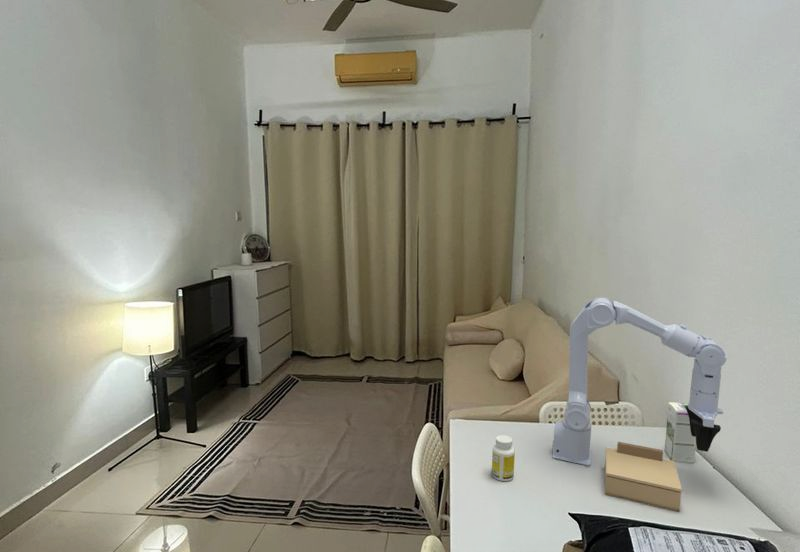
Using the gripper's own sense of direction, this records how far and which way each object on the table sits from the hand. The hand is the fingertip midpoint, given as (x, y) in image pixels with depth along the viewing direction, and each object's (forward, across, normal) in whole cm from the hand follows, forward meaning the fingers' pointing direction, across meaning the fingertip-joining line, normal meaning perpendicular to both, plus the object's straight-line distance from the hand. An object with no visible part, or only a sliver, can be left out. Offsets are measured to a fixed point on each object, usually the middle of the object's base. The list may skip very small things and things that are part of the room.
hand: (699, 443), depth 111 cm
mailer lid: (+5, -9, +13) cm, 17 cm away
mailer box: (+10, -9, +13) cm, 19 cm away
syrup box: (+10, +12, +2) cm, 16 cm away
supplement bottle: (+10, -18, +44) cm, 49 cm away
